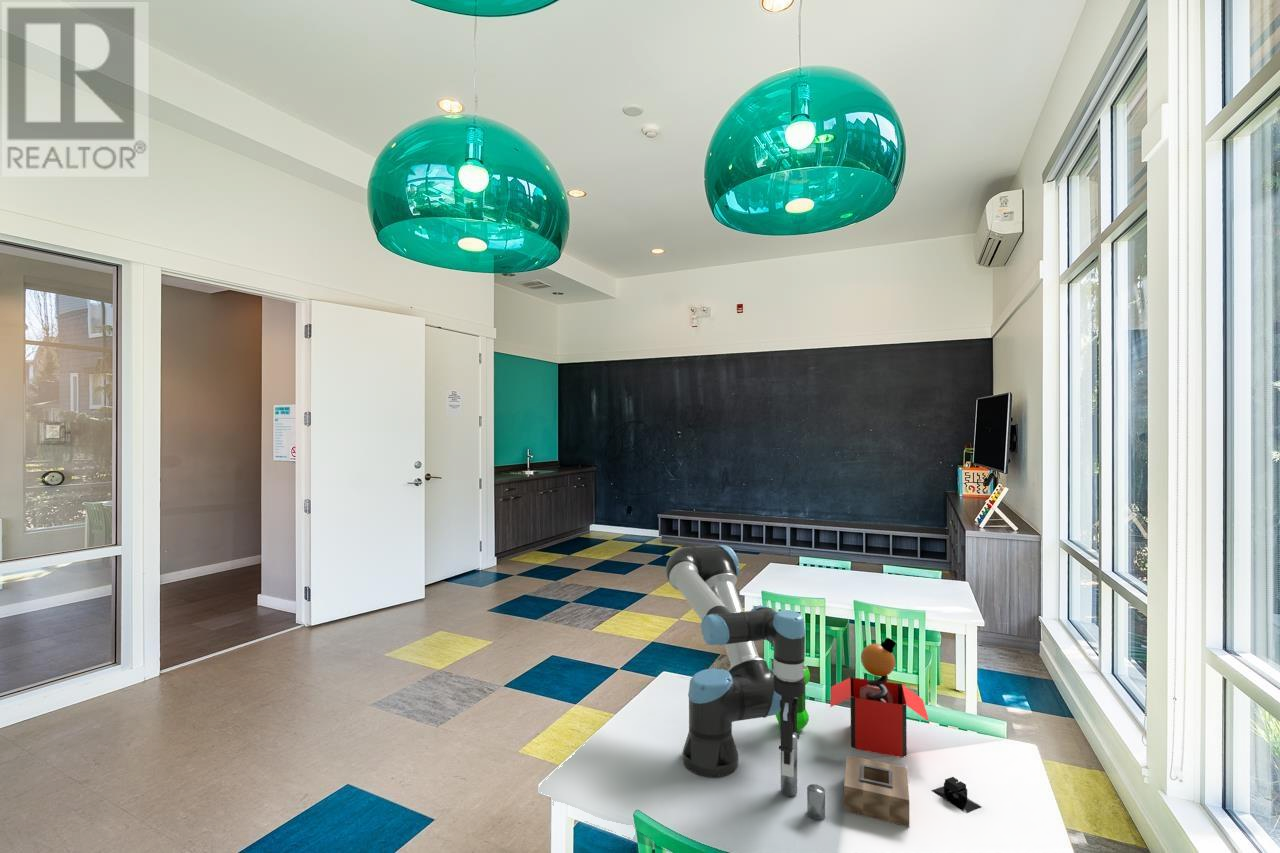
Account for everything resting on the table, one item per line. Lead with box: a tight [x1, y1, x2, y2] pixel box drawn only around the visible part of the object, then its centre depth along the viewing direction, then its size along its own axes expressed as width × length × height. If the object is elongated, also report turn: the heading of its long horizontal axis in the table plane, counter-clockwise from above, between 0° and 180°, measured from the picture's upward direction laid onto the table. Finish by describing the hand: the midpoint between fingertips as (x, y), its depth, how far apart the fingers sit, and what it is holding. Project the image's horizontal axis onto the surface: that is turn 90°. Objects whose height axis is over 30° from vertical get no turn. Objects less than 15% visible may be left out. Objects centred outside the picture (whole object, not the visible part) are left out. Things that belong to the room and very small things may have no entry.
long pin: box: [780, 732, 798, 797], centre depth 144 cm, size 4×4×14 cm
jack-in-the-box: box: [829, 637, 930, 758], centre depth 169 cm, size 26×16×30 cm, turn 71°
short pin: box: [806, 783, 826, 822], centre depth 135 cm, size 4×4×6 cm
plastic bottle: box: [774, 662, 811, 733], centre depth 175 cm, size 10×10×25 cm
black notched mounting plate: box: [931, 776, 982, 814], centre depth 141 cm, size 12×7×5 cm, turn 24°
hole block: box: [843, 755, 910, 828], centre depth 140 cm, size 14×14×6 cm
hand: (788, 769), depth 144 cm, fingers closed on long pin, 4 cm apart
